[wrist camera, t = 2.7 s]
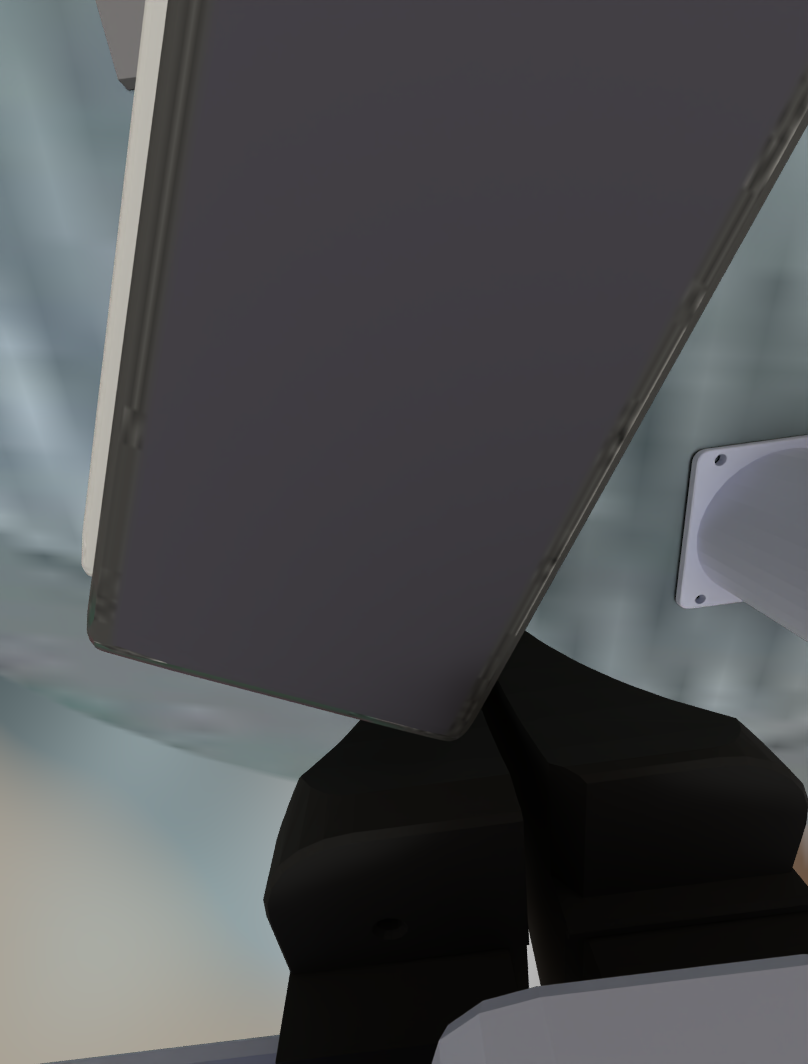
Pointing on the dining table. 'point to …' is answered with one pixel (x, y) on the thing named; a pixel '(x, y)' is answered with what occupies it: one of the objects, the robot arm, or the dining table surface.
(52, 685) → the dining table surface
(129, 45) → the mat
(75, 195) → the dining table surface
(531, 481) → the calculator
